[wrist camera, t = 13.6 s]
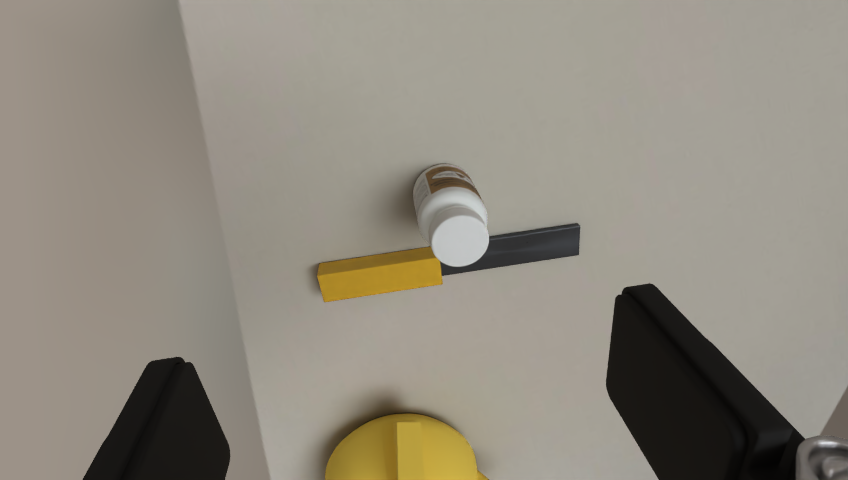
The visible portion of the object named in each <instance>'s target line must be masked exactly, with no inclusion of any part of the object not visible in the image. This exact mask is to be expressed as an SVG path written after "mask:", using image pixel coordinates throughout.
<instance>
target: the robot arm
mask: <svg viewBox="0 0 848 480" xmlns="http://www.w3.org/2000/svg"><path fill="white" fill-rule="evenodd" d="M606 387H607V391H608V394H609V397H610V399H611V401H612V402H613V404H614V406H615V407H616V409H617V411H618V412H619V414H620V416H621V417H622V419H623V421H624V422H625V424H626V426H627V427H628V429H629V431H630V432H631V434H632V436H633V437H634V439H635V441H636V442H637V444H638V446H639V447H640V449H641V451H642V452H643V454H644V456H645V457H646V459H647V461H648V462H649V464H650V466H651V467H652V469H653V471H654V472H655V474H656V476H657V477H658V479H659V480H848V440H847V439H843V438H839V437H834V436H815V437H811V438H807V439H805V438H804V437H803V436H802V435H801V434H800V433H799V432H798V431H797V430H796V429H795V428H794V427H793V426H792V425H791V424H790V423H789V422H788V421H787V420H786V419H785V418H784V417H783V416H782V415H781V414H780V413H779V412H778V411H777V410H776V409H775V407H774V406H773V405H772V404H771V403H770V402H769V401H768V400H767V399H766V398H765V397H764V396H763V395H762V394H761V393H760V392H759V391H758V390H757V389H756V388H755V387H754V386H753V385H752V384H751V383H750V382H749V381H748V380H747V379H746V378H745V377H744V376H743V374H742V373H741V372H740V371H739V370H738V369H737V368H736V367H735V366H734V365H733V364H732V363H731V362H730V361H729V360H728V359H727V358H726V357H725V356H724V355H723V354H722V353H721V352H720V351H719V350H718V349H717V348H716V347H715V346H714V345H713V344H712V343H711V342H710V341H709V340H708V339H706V338H705V337H704V336H703V335H702V334H701V333H700V332H699V331H698V330H697V329H696V328H695V327H694V326H693V325H692V324H691V323H690V322H689V320H688V319H687V318H686V317H685V316H684V315H683V314H682V313H681V312H680V311H679V310H678V309H677V308H676V307H675V306H674V305H673V304H672V303H671V302H670V301H669V300H668V299H667V298H666V297H665V296H664V295H663V294H662V293H661V291H660V290H659V289H658V288H657V287H656V286H654V285H653V284H643V285H637V286H631V287H626V288H624V289H623V291H622V295H618V296H617V297H616V299H615V306H614V315H613V324H612V333H611V342H610V351H609V360H608V369H607V378H606ZM229 461H230V449H229V444H228V442H227V440H226V438H225V435H224V433H223V431H222V429H221V426H220V424H219V422H218V420H217V417H216V415H215V413H214V411H213V408H212V406H211V404H210V401H209V399H208V397H207V395H206V392H205V390H204V388H203V386H202V383H201V381H200V379H199V377H198V374H197V372H196V370H195V368H194V366H193V364H192V363H191V362H186V363H185V361H184V360H183V359H182V358H181V357H174V358H167V359H161V360H155V361H151V362H150V363H148V365H147V366H146V368H145V370H144V371H143V373H142V375H141V377H140V379H139V380H138V382H137V384H136V386H135V388H134V389H133V392H132V393H131V395H130V397H129V399H128V401H127V402H126V404H125V406H124V408H123V410H122V412H121V413H120V415H119V417H118V419H117V421H116V423H115V424H114V426H113V428H112V430H111V431H110V433H109V435H108V437H107V438H106V439H105V441H104V442H103V444H102V445H101V447H100V449H99V451H98V453H97V455H96V456H95V458H94V460H93V462H92V464H91V465H90V467H89V469H88V471H87V473H86V475H85V476H84V478H83V480H225V477H226V473H227V469H228V466H229Z"/></svg>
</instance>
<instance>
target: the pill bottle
mask: <svg viewBox="0 0 848 480" xmlns="http://www.w3.org/2000/svg"><path fill="white" fill-rule="evenodd" d="M413 199H414V205H415V210H416V216H417V220H418V225H419V229H420V232H421V235H422V237H423V238H424V240H425V241H426V242H427V243H428V244H429V245H430V246H431V248H432V251H433V253H434V255H435V256H436V258H437V259H438V260H439V261H441V262H442V263H444V264H446V265H449V266H453V267H461V266H466V265H470V264H472V263H474V262H476V261H477V260H478V259H480V258H481V257H482V255H483V254H484V253H485V251H486V249H487V247H488V244H489V234H488V230H487V228H486V226H487V211H486V208H485V206H484V203H483V201H482V199H481V197H480V195H479V193H478V192H477V190H476V188H475V186H474V184H473V182H472V180H471V178H470V177H469V175H468V174H467V173H466V172H465V171H464V170H463V169H461V168H459V167H457V166H454V165H450V164H439V165H435V166H432V167H430V168H428V169H427V170H425V171H424V172H423V173H422V174H421V175H420V176H419V177H418V179H417V181H416V183H415V185H414V189H413Z"/></svg>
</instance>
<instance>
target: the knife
mask: <svg viewBox="0 0 848 480" xmlns="http://www.w3.org/2000/svg"><path fill="white" fill-rule="evenodd" d="M579 238H580V225H579V224H578V223H577V224H570V225H563V226H557V227H550V228H544V229H537V230H530V231H524V232H517V233H510V234H504V235H497V236H490V237H489V244H488V247H487V249H486V251H485V253H484V254H483V255H482V257H481V258H480V259H478V260H477V261H476V262H474V263H472V264H470V265H466V266H461V267H453V266H449V265H446V264H444V263H442V262H441V261H439V260H438V259H437V258H436V256H435V255H434V253H433V251H432V248H431V247H425V248H418V249H411V250H405V251H398V252H391V253H385V254H378V255H371V256H365V257H358V258H352V259H345V260H338V261H332V262H325V263H319V269H318V274H317V277H318V281H319V285H320V289H321V292H322V296H323V300H324V302H329V301H336V300H342V299H349V298H355V297H362V296H368V295H375V294H381V293H388V292H395V291H401V290H408V289H414V288H421V287H427V286H434V285H440V284H443V282H442V276H444V275H450V274H457V273H463V272H470V271H477V270H483V269H490V268H496V267H503V266H509V265H516V264H522V263H529V262H536V261H542V260H549V259H555V258H562V257H568V256H575V255H579Z"/></svg>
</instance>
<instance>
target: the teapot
mask: <svg viewBox="0 0 848 480" xmlns="http://www.w3.org/2000/svg"><path fill="white" fill-rule="evenodd" d="M325 480H489V479H488V478H486V477H485V476H484V475H483V474H482V473H481V472H479V471H478V470H477V465H476V459H475V455H474V452H473V449H472V448H471V446H470V445H469V443H468V442H467V440H466V439H465V438H464V437H463V436H462V435H461V434H460V433H459V432H458V431H456V430H455V429H453V428H452V427H450V426H448V425H447V424H445V423H443V422H441V421H439V420H436V419H434V418H431V417H428V416H424V415H419V414H392V415H387V416H383V417H380V418H376V419H374V420H371V421H369V422H367V423H365V424H363V425H362V426H360V427H359V428H357V429H356V430H354V431H353V432H352V433H350V434H349V435H348V436H347V437H346V438H345V439H343V440H342V441H341V442H340V443H339V445H338V446H337V447H336V448H335V450H334V451H333V453H332V455H331V457H330V459H329V461H328V463H327V467H326V472H325Z"/></svg>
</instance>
